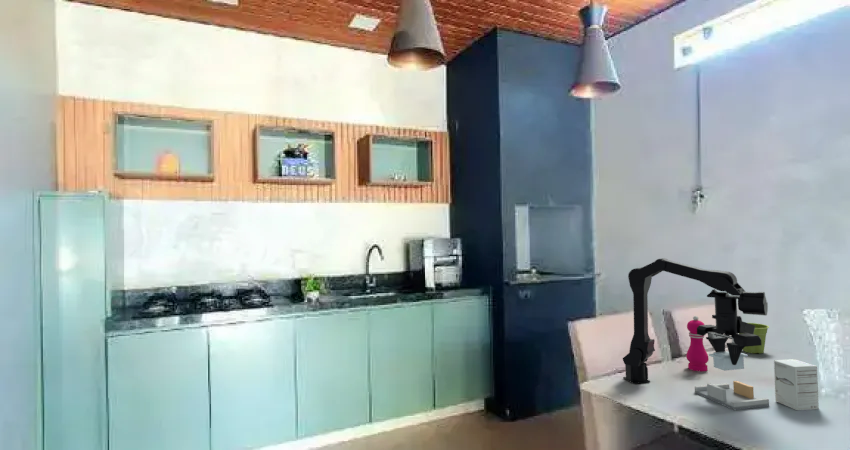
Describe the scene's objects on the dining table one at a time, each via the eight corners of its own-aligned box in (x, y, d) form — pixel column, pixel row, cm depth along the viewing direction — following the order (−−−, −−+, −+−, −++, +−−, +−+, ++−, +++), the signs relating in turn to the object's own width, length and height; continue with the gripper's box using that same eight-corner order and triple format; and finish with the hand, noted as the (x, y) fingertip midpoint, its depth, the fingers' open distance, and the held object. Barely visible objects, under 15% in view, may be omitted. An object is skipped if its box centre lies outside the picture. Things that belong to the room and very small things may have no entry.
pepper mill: (712, 372, 168) (710, 317, 168) (690, 371, 169) (688, 317, 170) (704, 366, 175) (702, 314, 175) (683, 366, 176) (681, 314, 177)
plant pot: (736, 347, 202) (735, 321, 202) (769, 350, 195) (768, 324, 196) (735, 353, 192) (734, 326, 193) (771, 356, 186) (769, 329, 186)
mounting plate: (734, 410, 132) (733, 395, 132) (694, 392, 147) (694, 379, 147) (769, 406, 135) (768, 391, 135) (726, 389, 149) (726, 376, 149)
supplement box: (774, 401, 138) (772, 359, 138) (797, 400, 138) (795, 358, 139) (796, 411, 130) (794, 366, 131) (820, 409, 131) (818, 365, 131)
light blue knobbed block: (720, 371, 138) (719, 354, 138) (709, 367, 142) (708, 351, 142) (748, 368, 140) (747, 352, 140) (737, 364, 144) (736, 349, 144)
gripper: (776, 315, 134) (778, 369, 133) (723, 306, 152) (726, 353, 152) (743, 318, 132) (746, 372, 131) (694, 308, 150) (696, 356, 150)
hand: (728, 362), depth 141 cm, fingers closed on light blue knobbed block, 4 cm apart
